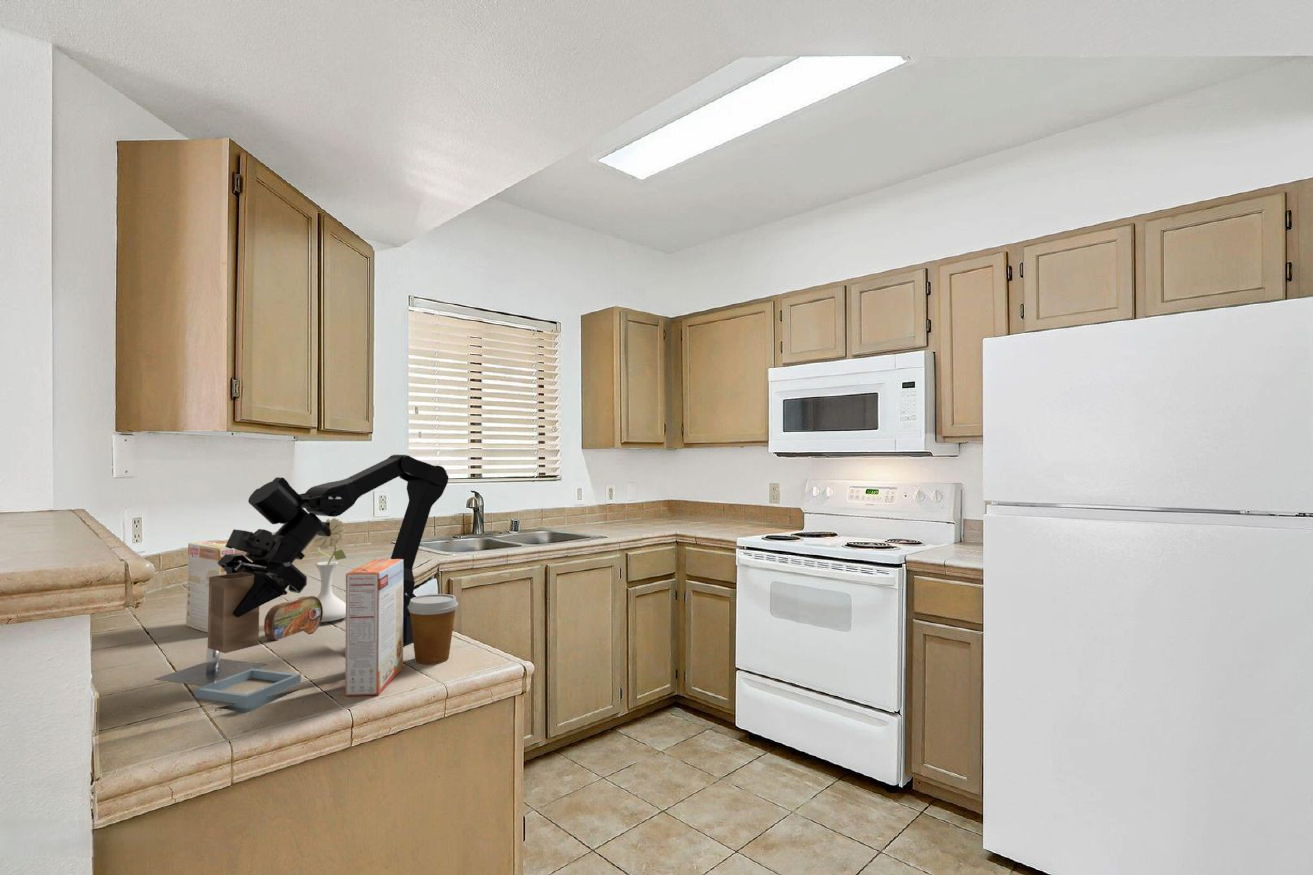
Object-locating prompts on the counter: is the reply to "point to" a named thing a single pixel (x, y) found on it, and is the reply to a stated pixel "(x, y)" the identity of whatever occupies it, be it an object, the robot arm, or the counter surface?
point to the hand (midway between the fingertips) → (225, 613)
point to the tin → (293, 617)
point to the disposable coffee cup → (432, 626)
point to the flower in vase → (330, 572)
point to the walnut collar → (231, 613)
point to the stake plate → (212, 677)
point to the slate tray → (254, 698)
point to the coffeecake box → (203, 578)
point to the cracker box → (373, 626)
